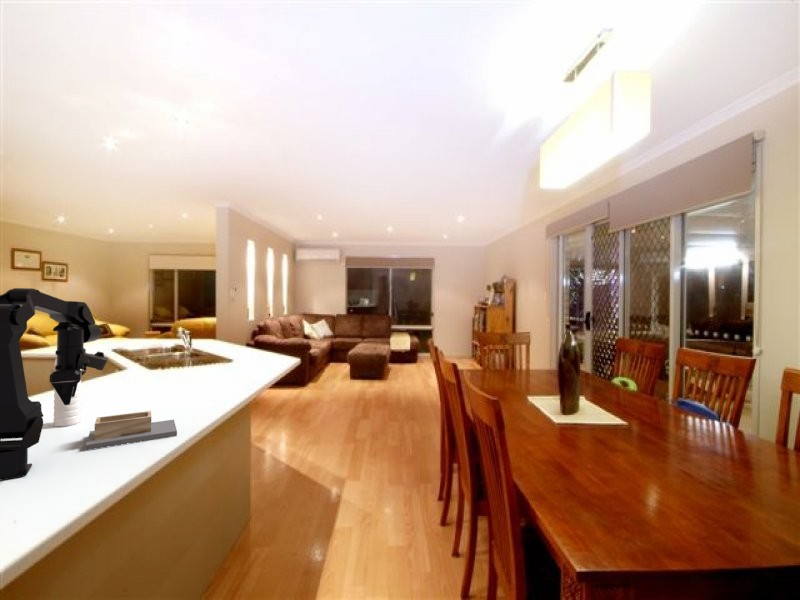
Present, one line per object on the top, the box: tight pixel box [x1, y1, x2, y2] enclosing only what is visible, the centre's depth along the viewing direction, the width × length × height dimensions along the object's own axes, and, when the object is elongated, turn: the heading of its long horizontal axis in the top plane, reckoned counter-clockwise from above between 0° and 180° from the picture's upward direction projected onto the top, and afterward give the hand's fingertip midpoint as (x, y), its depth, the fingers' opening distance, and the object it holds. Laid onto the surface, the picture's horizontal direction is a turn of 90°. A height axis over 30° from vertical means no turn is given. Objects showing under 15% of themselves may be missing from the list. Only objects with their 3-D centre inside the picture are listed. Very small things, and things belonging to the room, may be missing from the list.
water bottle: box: [53, 357, 83, 428], centre depth 122 cm, size 9×6×25 cm
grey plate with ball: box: [84, 419, 178, 451], centre depth 112 cm, size 12×21×4 cm, turn 124°
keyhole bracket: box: [94, 410, 152, 440], centre depth 111 cm, size 6×13×4 cm, turn 124°
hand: (69, 400), depth 109 cm, fingers open, 9 cm apart
